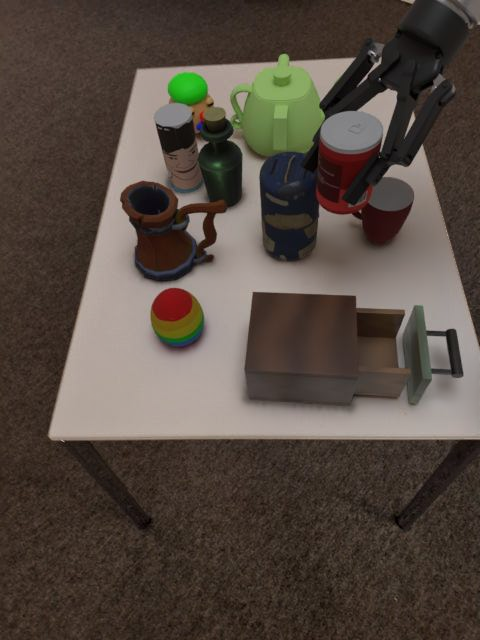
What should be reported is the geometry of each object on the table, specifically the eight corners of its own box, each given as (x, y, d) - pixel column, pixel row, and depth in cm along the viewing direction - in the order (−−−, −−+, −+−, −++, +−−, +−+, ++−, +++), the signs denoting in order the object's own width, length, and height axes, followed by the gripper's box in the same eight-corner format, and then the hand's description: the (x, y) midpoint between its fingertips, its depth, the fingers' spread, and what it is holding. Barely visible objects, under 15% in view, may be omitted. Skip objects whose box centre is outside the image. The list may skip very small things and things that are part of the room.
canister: (325, 235, 87) (334, 152, 72) (301, 272, 83) (305, 192, 68) (278, 218, 90) (277, 135, 75) (253, 253, 86) (246, 172, 71)
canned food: (377, 185, 69) (391, 116, 60) (360, 222, 66) (372, 155, 57) (327, 172, 72) (333, 105, 63) (307, 208, 68) (311, 142, 59)
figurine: (165, 128, 108) (153, 76, 98) (200, 110, 110) (192, 58, 100) (192, 153, 102) (182, 100, 92) (229, 133, 105) (223, 81, 95)
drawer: (444, 335, 73) (460, 306, 67) (454, 406, 67) (473, 381, 61) (321, 330, 75) (325, 301, 69) (320, 397, 69) (324, 373, 63)
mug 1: (239, 238, 88) (231, 173, 76) (228, 289, 82) (218, 227, 70) (145, 231, 91) (123, 167, 78) (127, 280, 85) (100, 219, 72)
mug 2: (335, 240, 86) (340, 198, 78) (352, 210, 90) (359, 167, 81) (392, 259, 83) (405, 217, 75) (408, 228, 86) (421, 184, 78)
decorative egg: (206, 308, 80) (197, 270, 72) (207, 351, 76) (197, 316, 67) (158, 312, 81) (143, 275, 72) (155, 355, 76) (140, 321, 68)
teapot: (222, 136, 105) (214, 72, 92) (290, 97, 110) (291, 32, 98) (279, 179, 96) (279, 114, 84) (350, 134, 102) (359, 67, 90)
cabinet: (348, 331, 76) (356, 295, 68) (350, 405, 69) (358, 376, 61) (255, 326, 78) (252, 291, 70) (248, 399, 71) (244, 369, 63)
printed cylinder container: (166, 191, 96) (149, 125, 84) (174, 169, 100) (158, 102, 87) (199, 193, 95) (187, 126, 83) (206, 170, 99) (195, 103, 86)
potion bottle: (223, 176, 98) (212, 93, 83) (254, 193, 94) (249, 109, 79) (196, 199, 95) (179, 117, 79) (227, 217, 91) (216, 135, 76)
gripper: (528, 63, 53) (392, 234, 62) (393, 0, 63) (294, 155, 72) (515, 30, 47) (368, 223, 57) (368, -34, 57) (264, 139, 67)
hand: (326, 185), depth 64 cm, fingers closed on canned food, 8 cm apart
